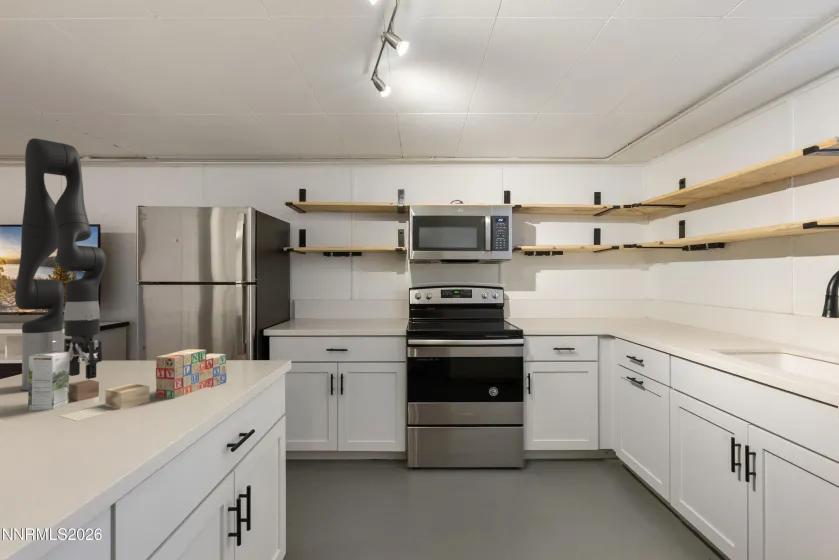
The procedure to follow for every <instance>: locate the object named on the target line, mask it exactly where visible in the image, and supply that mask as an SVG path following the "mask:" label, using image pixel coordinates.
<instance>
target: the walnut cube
mask: <svg viewBox="0 0 839 560" xmlns="http://www.w3.org/2000/svg"><path fill="white" fill-rule="evenodd" d="M99 389H100V381H97V380H93V379H84V380H80V381H75V382H74V381H73V382H69V401H74V402H80V401H85V400H91V399H94V398H99V397H100V390H99Z"/></svg>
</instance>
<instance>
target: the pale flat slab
mask: <svg viewBox="0 0 839 560" xmlns="http://www.w3.org/2000/svg"><path fill="white" fill-rule="evenodd" d="M149 402H151V400H149V401H148V402H144V403H141V404H137V405H142V404H145V403H149ZM137 405H133V406H129V407H125V408H122V409H121V408H117V407H112V406H108V405H105V404H104V406H105V407H110V408H114V409H119V410H123V409H126V408H131V407H135V406H137ZM112 412H113V410H109V409H104V408H101V407H96V406H93V407H89V408H86V409H83V410H78V411H74V412H69V413H66V414H61V415H60V417H61V418H65V419H68V420H71V421H75V422H77V421H81V420H85V419H89V418H93V417H97V416H100V415H105V414H108V413H112Z"/></svg>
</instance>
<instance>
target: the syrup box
mask: <svg viewBox="0 0 839 560" xmlns="http://www.w3.org/2000/svg"><path fill="white" fill-rule="evenodd" d="M69 359H70V353H69V352H64V350H63V351H50V352H45V353H40V354H36V355H31V356H29V384H28V390H27V391H28V393H27V394H28V397H27V398H28V399H27V411H48V410H49V411H51V410H54V409H57V408H60V407H62V406H65V405H68V404H69V401H70V399H69V383H70V375H69Z"/></svg>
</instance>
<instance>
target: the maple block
mask: <svg viewBox="0 0 839 560" xmlns="http://www.w3.org/2000/svg"><path fill="white" fill-rule="evenodd" d="M104 390H105V397H104V398H105V399H104V401H105V404H104V406H105V405H108V406H107V407H109V406H112V407H111V408H114V407H117V408H116V409H118V408H121V409H120V410H123V409H126V408H125V407H127V408H130V407H129V406H131V407H134V406H133V405H135V406H137V404H139V405H142V404H145V403H144V402H146V403H149V402H148V401H150V385H149V386H148V385H144V384H139V383H134V382H133V383H129V384H125V385H120V386H115V387H111V388H106V389H104ZM141 403H142V404H141ZM122 408H123V409H122Z"/></svg>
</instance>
